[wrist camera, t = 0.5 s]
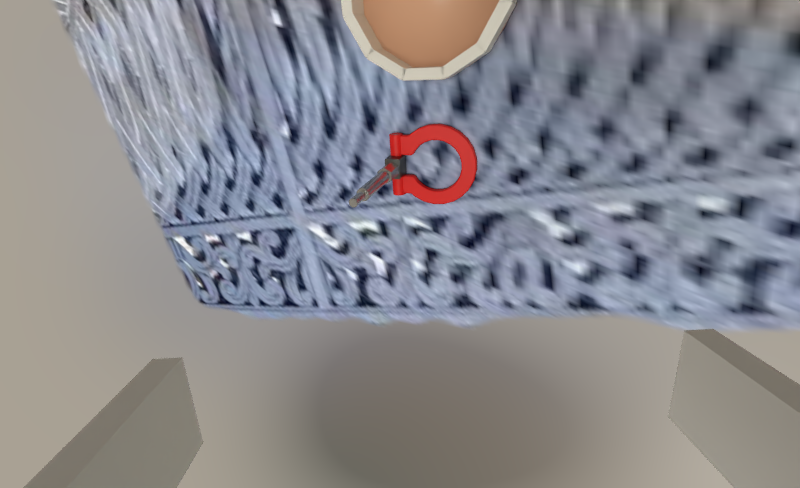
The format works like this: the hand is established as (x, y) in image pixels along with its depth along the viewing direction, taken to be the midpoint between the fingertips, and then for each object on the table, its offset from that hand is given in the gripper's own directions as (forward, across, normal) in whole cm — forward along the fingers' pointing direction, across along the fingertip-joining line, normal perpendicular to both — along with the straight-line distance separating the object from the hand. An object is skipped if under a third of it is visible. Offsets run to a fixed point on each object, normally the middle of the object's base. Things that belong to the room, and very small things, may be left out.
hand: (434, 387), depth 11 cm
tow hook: (+34, +4, +2) cm, 34 cm away
